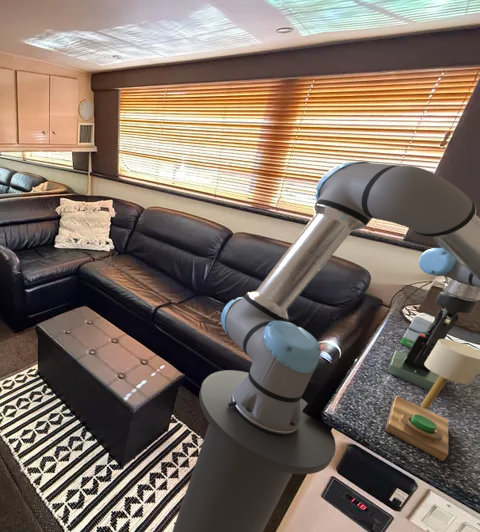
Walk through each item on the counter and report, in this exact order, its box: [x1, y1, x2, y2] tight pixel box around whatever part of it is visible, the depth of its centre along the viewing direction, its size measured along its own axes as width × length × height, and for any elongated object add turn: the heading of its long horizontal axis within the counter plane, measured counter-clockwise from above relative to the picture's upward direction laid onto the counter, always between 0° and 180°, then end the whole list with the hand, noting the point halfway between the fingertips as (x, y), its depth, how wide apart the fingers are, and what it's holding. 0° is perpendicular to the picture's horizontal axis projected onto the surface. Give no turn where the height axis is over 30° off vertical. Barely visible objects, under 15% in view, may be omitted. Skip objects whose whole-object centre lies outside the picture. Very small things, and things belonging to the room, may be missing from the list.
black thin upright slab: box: [404, 334, 436, 372], centre depth 98 cm, size 6×2×10 cm, turn 41°
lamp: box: [420, 338, 480, 410], centre depth 78 cm, size 8×8×18 cm
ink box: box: [399, 312, 436, 349], centre depth 117 cm, size 9×5×12 cm, turn 120°
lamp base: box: [384, 395, 449, 462], centre depth 78 cm, size 16×10×4 cm, turn 131°
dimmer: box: [386, 349, 439, 392], centre depth 101 cm, size 14×11×3 cm
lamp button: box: [410, 414, 437, 434], centre depth 75 cm, size 4×4×2 cm
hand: (421, 358), depth 99 cm, fingers open, 10 cm apart
